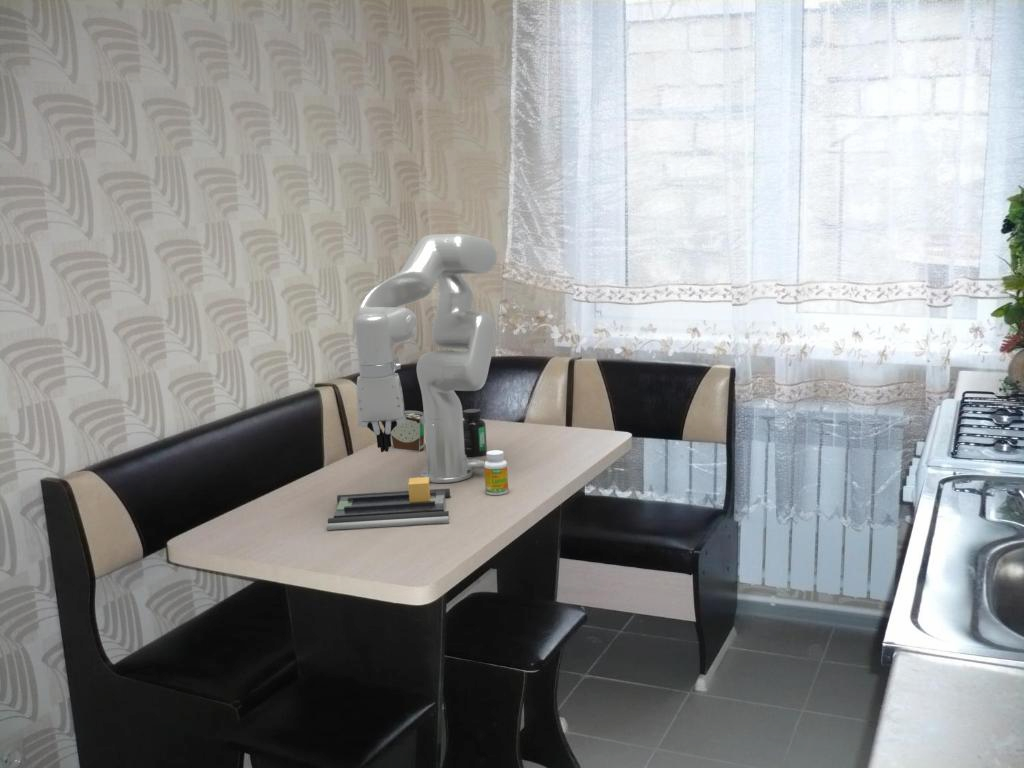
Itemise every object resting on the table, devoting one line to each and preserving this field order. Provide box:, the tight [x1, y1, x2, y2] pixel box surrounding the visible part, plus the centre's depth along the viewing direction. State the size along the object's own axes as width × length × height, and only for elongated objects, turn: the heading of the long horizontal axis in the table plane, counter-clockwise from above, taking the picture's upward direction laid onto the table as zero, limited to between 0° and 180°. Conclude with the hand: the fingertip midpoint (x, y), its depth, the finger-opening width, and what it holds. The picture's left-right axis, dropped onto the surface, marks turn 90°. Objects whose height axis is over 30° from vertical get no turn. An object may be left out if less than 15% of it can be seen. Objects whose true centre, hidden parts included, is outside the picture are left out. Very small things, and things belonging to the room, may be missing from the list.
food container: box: [390, 410, 425, 453], centre depth 293 cm, size 12×6×10 cm, turn 58°
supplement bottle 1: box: [462, 408, 488, 458], centre depth 282 cm, size 7×7×12 cm
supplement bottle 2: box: [483, 449, 509, 496], centre depth 247 cm, size 5×5×10 cm
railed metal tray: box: [333, 491, 447, 518], centre depth 237 cm, size 24×14×3 cm, turn 92°
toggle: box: [407, 476, 431, 502], centre depth 237 cm, size 4×5×4 cm
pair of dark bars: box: [326, 487, 451, 531], centre depth 237 cm, size 26×20×2 cm
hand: (384, 450), depth 236 cm, fingers closed
